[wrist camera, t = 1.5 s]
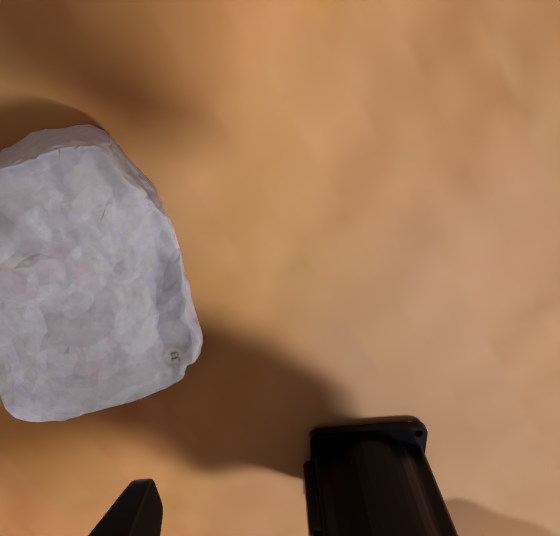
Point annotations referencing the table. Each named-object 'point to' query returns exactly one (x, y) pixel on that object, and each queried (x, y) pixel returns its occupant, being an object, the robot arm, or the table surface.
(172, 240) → the stone block
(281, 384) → the table surface
